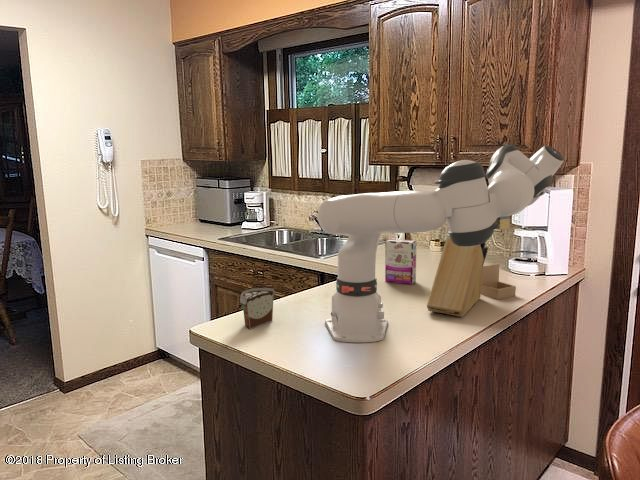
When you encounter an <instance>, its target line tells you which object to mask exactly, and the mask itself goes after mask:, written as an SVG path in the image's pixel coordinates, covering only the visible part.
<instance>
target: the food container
mask: <svg viewBox="0 0 640 480" xmlns="http://www.w3.org/2000/svg"><path fill="white" fill-rule="evenodd" d="M274 296H276V292H275V289H274V288H270V287H268V288H267V287H260V288H259V287H257V288H250V289H246V290H244V291H243V292H241V295H240V298H239V302H240V304H242V310H243V317H244V325H245V328H246V329H248V330H253V329H255V328H257V327H260V326H263V325H266V324H269V323H271V322H273V319H274V318H273V314H274Z"/></svg>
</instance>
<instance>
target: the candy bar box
mask: <svg viewBox="0 0 640 480" xmlns="http://www.w3.org/2000/svg"><path fill="white" fill-rule="evenodd" d="M384 242H385V245H384V246H385V259H384V260H385V270H384V273H385V275H384V277H385V278H384V279H385V282H386V283H394V284H402V285H411V286H412V285H414V284H415V283H416V282H417V240H408V239H392V238H389V239H386V240H385V241H384Z"/></svg>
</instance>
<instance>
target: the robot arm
mask: <svg viewBox="0 0 640 480" xmlns="http://www.w3.org/2000/svg"><path fill="white" fill-rule="evenodd" d="M564 162H565V161H564V157H563V155H562V154H561V153H560V152H559V151H558V150H557V149H555V148H554V147H552V146H550V145H544V146H542V147H541V148H539V149H538V150H537V151H536V152H535V153H533V155H532V156H531V157H530V158H529V157H527V155H525V154H524V153H522V151H521V150H520V149H519V148H518V147H517V146H516V145H514V144H505V145H502V146H501V147H499V148H498V149H497V150H496V151H495V152H494V153H493V154H492V156H491V158H490V160H489V163H488V164H489V165H488V168H487V170H486V172H485V169H484V167H483V165H482V163H480V161H479V162H478V161H474V160H470V159H462V160H458V161H455V162H452V163H451V164H450V165H447V166H446V167H445V168H444V169H443V170H442V171H441V172H440V175H439V177H438V179H436V180H435V181H434V184H435V185H439V186H438V188H435V189H432V190H401V191H400V190H399V191H398V190H397V191H387V192H386V191H384V192H383V191H382V192H365V193H364V192H363V193H357V194H347V195H338V196H335V197H331V198H328V199H326V200H323V202H321V204H320V206H319V208H318V211H317V221H318V224H319V226H320V228H321V229H322V231H323V232H324V233H327V234H330V235H337V236H338V235H342V236H343V235H345V236H347V235H348V238H347V240H346V242H345V243H344V244H343V246H342V247H340V249H339V250H338V253H337V277H336V281H335V285H336V292H335V293H334V294H333V295H331V313H330V316H331V318H326V319H325V321H324V324H325V326H326V328H327V330H328V332H329V334H330V336H331V338H332V339H333V340H334V341H337V342H341V343H342V342H343V343H374V342H375V343H376V342H379V341H383V340H384V339H385V335H386V332H387V328H388V324H389V320H388V319H387V318H385V310H382V309H383V308H384V307H383V306H384V303H382V295H380V294H379V293H378V292H377V288H378V282H377V277H376V259H377V251H378V246H379V244H380V243H379V242H380V240H381V237H382V235H383V234H385V233H386V234H388V233H389V234H390V233H391V234H413V233H414V234H416V233H424V232H429V231H434V230H438V229H439V228H441V227H443V225H444V224H445V223H447V227H448V236H449V238H451V241H452V242H453V243H454V244H455V245H457V246H463V247H475V246H478V245H480V244H483V243H485V242H486V243H487V242H488V240H490V239H491V238H492V236H493V234H494V231H495V230H498V229H497V228H498V226H499V225H498V224H496V219H497V218H498V217H502V216H510V217H511V216H513V215H514V216H515V215H516V214H518V213H521V212H522V211H523V210H525V209H526V208H527V207H529V206H531V205H533V204H534V203H535V202H536V201H537V200H538V199H540V197H542V196H544V195H545V194H546V189H547V188H548V187H549V186H550V185H551V184H552V181H553V176H554V175H555V174H556V172H557V171H558V170H559V169H560V167H561V166H562V164H563V163H564ZM486 178H487V180H488V181H487V180H486ZM487 182H488V186H487Z"/></svg>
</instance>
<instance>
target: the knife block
mask: <svg viewBox="0 0 640 480" xmlns="http://www.w3.org/2000/svg"><path fill="white" fill-rule="evenodd" d="M486 243H487V241H486V242H485V243H483V244H480V245H478V246H475V247H463V246H457V245H455V244H454V243H453V242H452V241H451V238H450V237H446V240H445V242H444V245H443V250H442V252H441V256H440V259H439V263H438V267H437V269H436V272H435V273H436V274H435V276H434V280H433V284H432V287H431V290H430V294H429V297H428V301H427V303H426V308H427V311H428V312H432V313H440V314H444V315H445V314H446V315H450V316H456V317H464V316H465V315H466V314H467V313H468V312H469V311H470V309H471V308H473V306H474V304H476V303H477V302H478V301H479V300H480V299H481V297H482V296H481V295H482V294H481V282H482V268H483V266H485V260H486V258H487V253H488V250H489V246H488V247H487V246H486Z"/></svg>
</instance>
